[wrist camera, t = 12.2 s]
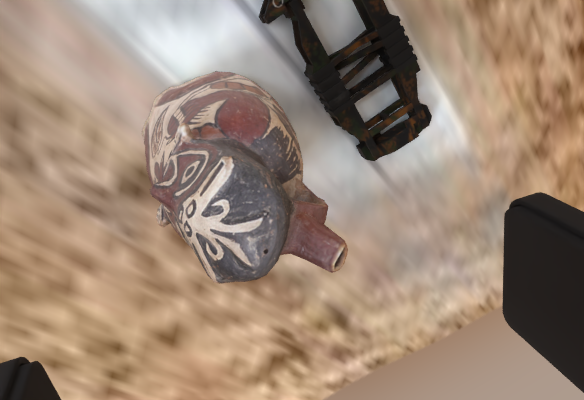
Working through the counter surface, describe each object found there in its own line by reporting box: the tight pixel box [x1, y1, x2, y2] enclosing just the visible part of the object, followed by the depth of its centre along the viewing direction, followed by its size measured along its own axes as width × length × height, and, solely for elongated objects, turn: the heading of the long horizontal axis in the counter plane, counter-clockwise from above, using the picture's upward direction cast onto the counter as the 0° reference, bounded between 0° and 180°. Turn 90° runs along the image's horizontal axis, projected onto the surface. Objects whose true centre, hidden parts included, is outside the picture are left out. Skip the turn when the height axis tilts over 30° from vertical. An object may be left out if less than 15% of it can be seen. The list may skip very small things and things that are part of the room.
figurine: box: [142, 71, 348, 283], centre depth 18 cm, size 7×7×12 cm
